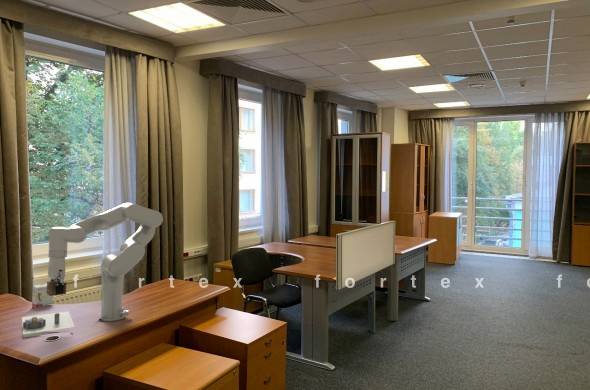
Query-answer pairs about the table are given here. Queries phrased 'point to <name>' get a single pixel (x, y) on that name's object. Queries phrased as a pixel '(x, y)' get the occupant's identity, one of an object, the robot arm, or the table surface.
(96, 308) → the table surface
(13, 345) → the table surface
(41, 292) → the ink box
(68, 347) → the table surface
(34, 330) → the gear board
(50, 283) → the walnut gear
